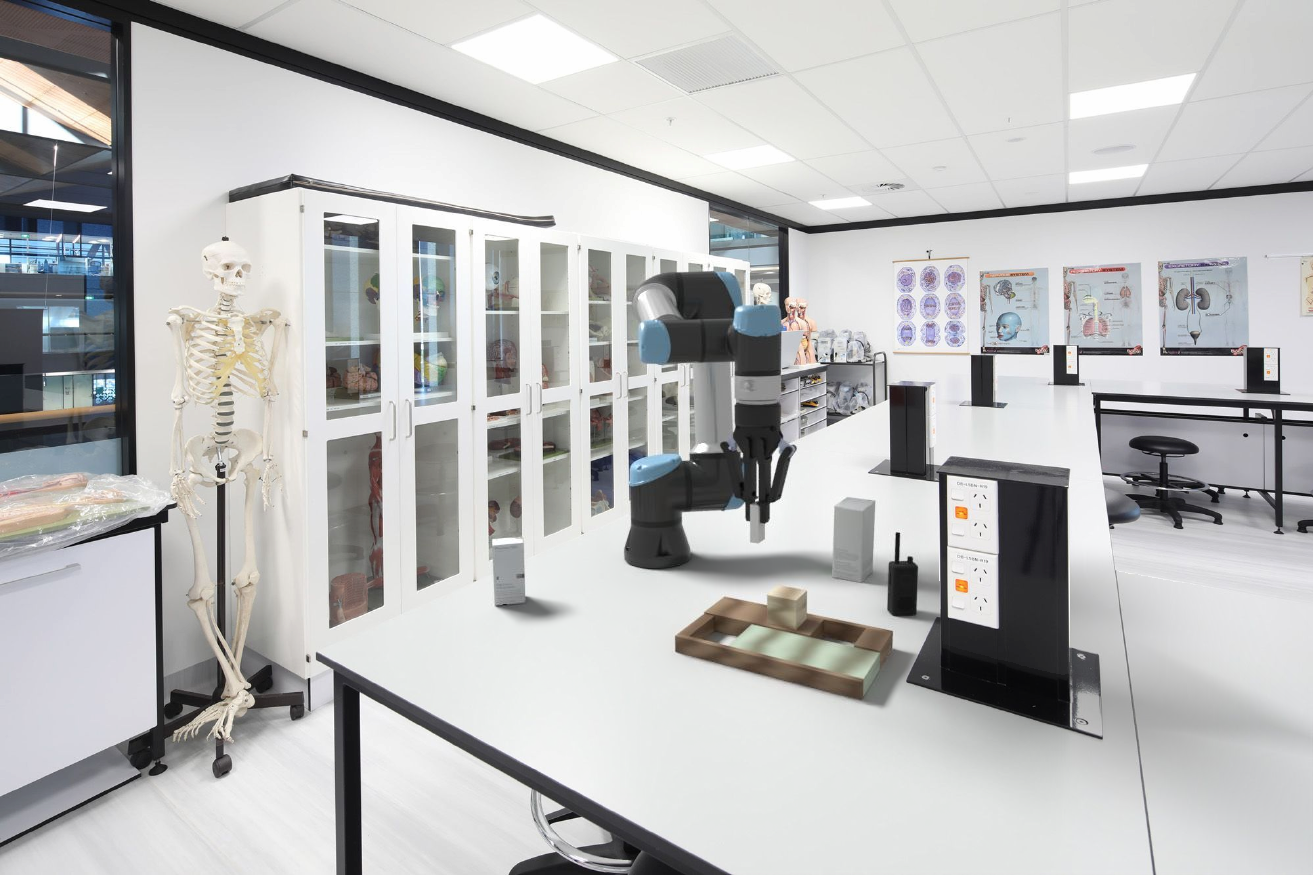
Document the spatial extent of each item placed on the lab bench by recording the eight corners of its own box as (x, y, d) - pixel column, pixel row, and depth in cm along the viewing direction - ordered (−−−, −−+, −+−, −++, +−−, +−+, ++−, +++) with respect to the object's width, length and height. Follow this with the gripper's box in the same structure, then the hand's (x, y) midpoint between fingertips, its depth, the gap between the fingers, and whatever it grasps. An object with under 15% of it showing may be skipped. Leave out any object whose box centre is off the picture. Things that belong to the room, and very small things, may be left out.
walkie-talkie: (910, 608, 127) (913, 529, 124) (918, 616, 123) (921, 534, 121) (884, 609, 127) (886, 530, 124) (891, 617, 123) (894, 535, 121)
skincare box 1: (494, 606, 132) (490, 545, 130) (494, 597, 136) (490, 538, 135) (527, 603, 134) (523, 542, 132) (526, 594, 138) (522, 535, 136)
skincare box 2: (844, 566, 150) (846, 496, 147) (875, 571, 146) (877, 499, 143) (831, 578, 143) (832, 504, 140) (862, 584, 139) (864, 509, 137)
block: (767, 623, 115) (767, 594, 114) (778, 612, 119) (778, 584, 118) (795, 629, 112) (796, 600, 111) (806, 618, 116) (807, 590, 115)
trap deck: (675, 651, 112) (674, 634, 112) (724, 611, 127) (724, 596, 127) (861, 700, 96) (861, 680, 96) (892, 648, 111) (893, 630, 111)
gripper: (711, 402, 113) (712, 541, 117) (786, 405, 106) (785, 553, 110) (731, 397, 119) (732, 529, 123) (804, 400, 112) (802, 540, 116)
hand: (757, 540), depth 116 cm, fingers closed
